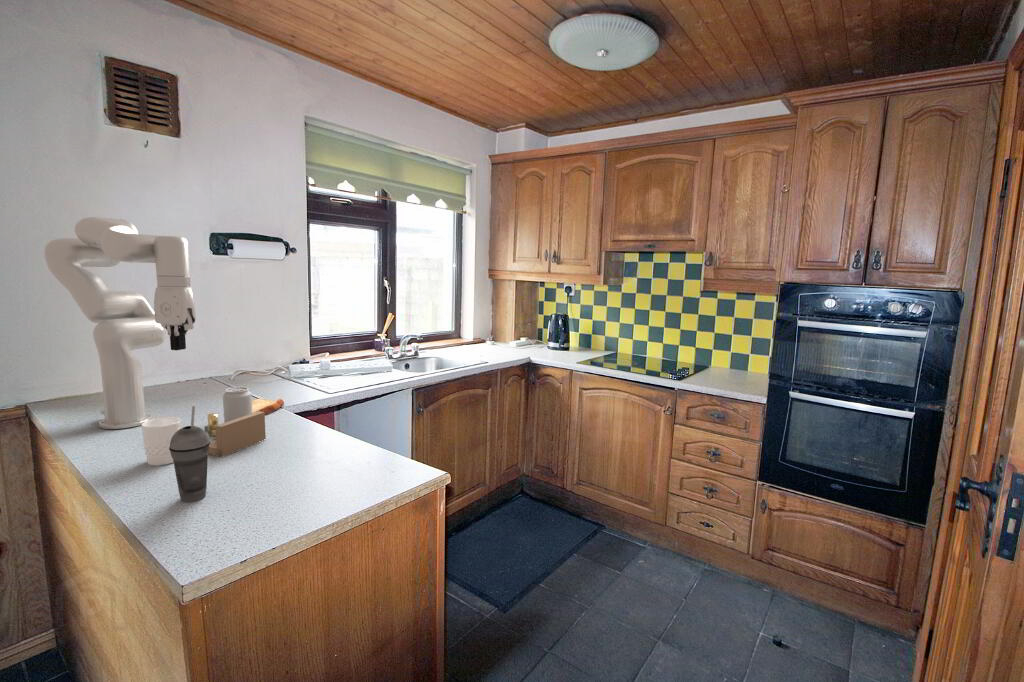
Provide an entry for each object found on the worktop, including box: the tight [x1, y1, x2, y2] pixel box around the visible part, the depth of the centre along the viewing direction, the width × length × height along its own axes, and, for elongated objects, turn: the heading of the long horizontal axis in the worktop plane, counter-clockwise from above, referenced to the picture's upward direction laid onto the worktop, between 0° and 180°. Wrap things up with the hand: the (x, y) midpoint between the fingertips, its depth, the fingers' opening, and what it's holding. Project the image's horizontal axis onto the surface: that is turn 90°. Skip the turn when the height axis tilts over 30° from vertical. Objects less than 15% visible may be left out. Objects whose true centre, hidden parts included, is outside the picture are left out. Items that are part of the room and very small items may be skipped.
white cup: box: [141, 416, 182, 466], centre depth 123 cm, size 8×8×10 cm
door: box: [181, 411, 267, 457], centre depth 137 cm, size 26×14×8 cm, turn 72°
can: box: [222, 386, 253, 423], centre depth 148 cm, size 8×8×12 cm
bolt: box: [207, 412, 219, 436], centre depth 135 cm, size 9×2×6 cm, turn 72°
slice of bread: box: [252, 398, 285, 416], centre depth 165 cm, size 18×18×4 cm
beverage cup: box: [169, 405, 210, 503], centre depth 104 cm, size 7×7×20 cm
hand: (178, 349), depth 136 cm, fingers closed
